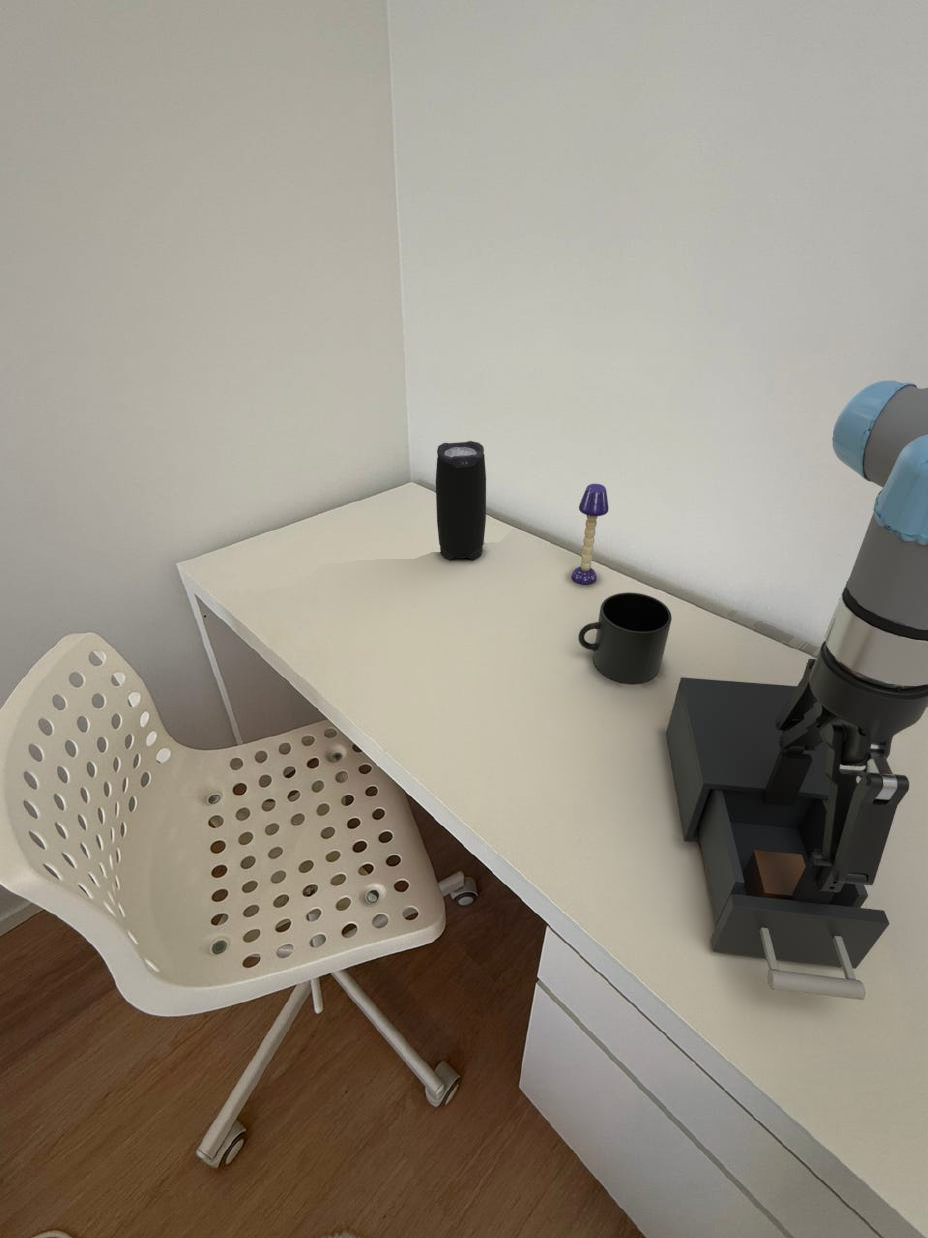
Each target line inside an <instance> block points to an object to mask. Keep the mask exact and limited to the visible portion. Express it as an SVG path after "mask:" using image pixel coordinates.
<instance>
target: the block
mask: <svg viewBox="0 0 928 1238" xmlns="http://www.w3.org/2000/svg"><path fill="white" fill-rule="evenodd" d="M805 867H806V865H805V862H804V859H803V856H802V855H800V854H790V853H780V852H770V851H760V850H753V853H752V855H751V857H750V859H749V861H748V864H747V866H746V868H745V870H744V873H743V878H744V882H745V883H744V886H745V890H746V894H747V896H755V897H764V898H774V899H783V900H792V901H794V898H793V895H792V893H793V891H794V889H795V887H796V885H797V883H798V881H799V879H800V877H801V875H802V873H803V871H804V869H805Z"/></svg>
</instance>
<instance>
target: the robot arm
mask: <svg viewBox="0 0 928 1238" xmlns="http://www.w3.org/2000/svg"><path fill="white" fill-rule="evenodd" d="M833 426H834V427H833V431H832V449H833V452H834V454H835V455H836V458H838V460H839V461H841V462H842V463H843V464H844V465H846V466H847V467H848V468H849V469H851V470H852V471H854V472H855V473H857V474H858V475H860V476H861V477H862V479H864V480H866V481H867V482H871V483H874V484H875V485H877V486H879V487H881V488H882V489H881V490H880V491H879V492H878V494H877V496H876V498H875V499H874V500H875V501H874V503H873V509H872V511H873V513H872V515H871V518H870V521H869V524H868V525H867V526H868V527H867V529H866V532H865V533H864V537H863V540H862V542H861V545H860V547H859V551H858V553H857V555H856V559H855V562H854V564H853V566H852V570H851V572H850V575H849V577H848V579H847V581H846V583H845V586H844V588H843V590H842V592H841V593H840V596H839V598H838V601H837V604H836V605H835V609H834V611H833V614H832V616H831V619H830V622H829V624H828V627H827V629H826V632H825V634H824V641H823V642H822V643H821V645H820V648H819V651H818V653H817V656H816V658H809V659H808V660H807V662H806V666H805V669H804V672H803V676H802V677H801V679H800V681H799V682H798V684H797V685H796V686H797V687H796V689H795V690H794V692H793V693H792V695H791V697H790V698H789V700H788V701H787V703H786V704H785V706H784V708H783V709H782V711H781V712H780V714H779V715H778V717H777V719H776V722H775V725H776V729H777V730H782V734H783V735H782V736H780V738H779V746H780V748H781V750H780V752H779V755H778V757H777V760H776V762H775V765H774V768H773V770H772V773H771V775H770V778H769V780H768V783H767V785H766V788H765V791H764V793H763V796H762V800H763V803H764V804H773V805H785V806H793V804H794V802H795V800H796V797H797V795H798V793H799V791H800V788H801V786H802V784H803V782H804V779H805V777H806V775H807V772H808V770H809V768H810V766H811V763H812V761H813V760H812V757H811V755H810V754H803V752H804V751H818V750H816V748H817V749H818V747H817V746H818V745H820V744H822V743H823V742H824V743H825V744H826V746H827V757H826V765H825V774H826V776H827V777H829V778H830V789H829V797H828V806H827V814H826V822H825V831H824V839H823V847H822V849H819V848H815V849H814V851H813V853H812V855H811V857H810V859H809V861H808V863H807V865H806V867H805V869H804V871H803V873H802V875H801V877H800V879H799V881H798V883H797V885H796V887H795V889H794V891H793V893H792V895H793V898H794V901H801V902H810V903H820V904H829V903H830V901H831V899H832V898H833V896H834V894H835V892H839V891H840V890H841V889H842V887H843V885H844V883H850V884H861V885H864V886H873V885H874V883H875V880H876V876H877V874H878V870H879V867H880V864H881V861H882V857H883V854H884V850H885V847H886V844H887V841H888V838H889V835H890V832H891V828H892V825H893V822H894V820H895V819H894V818H895V816H896V812H897V809H898V806H899V804H900V803H901V802H902V800H904V797H905V796H906V795H907V793H908V792H909V790H910V780H909V778H908V776H906V775H905V774H896V773H895V774H894V773H893V771H892V768H891V766H890V765H889V762H888V758H889V757H890V754H891V748H892V742H893V739H894V736H896V735H897V734H899V733H901V732H903V731H904V730H906V729H908V728H910V727H912V726H913V725H915V724H916V723H918V721H919V720H920V719H921V718H922V717H923V715H924V713H925V711H926V709H927V707H928V387H926V388H925V387H924V388H919V387H917V385H916V384H915V383H912V382H900V381H897V380H880V381H877V382H874V383H872V384H869V385H868V386H866V387H864V388H863V389H861V390H860V391H858V392H857V393H856V394H855V395H854V396H852V397H851V399H849V400H848V401H847V403H846V404H845V405H844V407H843V408H842V410H841V411H840V413H839V415H838V416H837V418H836V421H835V423H834V425H833ZM841 766H844V767H855V768H856V767H858V768H860V767H864V768H863V769H860V770H859V769H848V768H847V769H846V768H841Z"/></svg>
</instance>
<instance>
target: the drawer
mask: <svg viewBox="0 0 928 1238" xmlns="http://www.w3.org/2000/svg"><path fill="white" fill-rule="evenodd" d="M762 796H763V793H752V792H741V791H731V790H720V789H710V790H709V793H708V796H707V799H706V802H705V804H704V807H703V810H702V813H701V816H700V819H699V822H698V825H697V827H698V832H699V837H700V842H699V843H700V847H701V853H702V858H703V862H704V868H705V874H706V878H707V883H708V889H709V895H710V900H711V904H712V905H711V906H712V910H713V915H714V920H715V925H716V926H715V929H714V930H713V933H712V935H711V938H710V944H711V950H712V952H713V953H718V954H726V955H736V956H743V957H751V958H752V957H753V958H759V959H760V958H761V959H766V963H767V967H768V970H767V973H766V979H767V985H768V988H769V989H770V990H776V991H782V992H783V991H784V992H791V993H792V992H793V993H801V994H809V995H817V996H825V997H833V998H841V999H842V998H843V999H849V1000H850V999H851V1000H856V1001H857V1000H858V1001H864V1000H865V998H866V989H865V985H864V983H863V981H861V979H860V980H859V979H857V976H856V974H855V971H854V970H856V969H857V968H858V967H859V965H860V964H861V963H862V962H863V960H864V959H865V957H866V956H867V955H868V953H869V952H870V951H871V949H872V948H873V947H874V946H875V944H876V943H877V942H878V940H879V939H880V938H881V936H882V935H883V933H884V932H885V931H886V930H887V928H888V927H889V926H890V921H889V919H888V916H887V914H886V911H885V910H882V909H874V908H866V907H865V908H864V907H862V906H863V905H864V903H865V902H866V900H867V899H868V897H869V894H868V890H867V888H866V885H861V884H850V883H844V885H843V887H842V889H841V890H840V891H839V892H835V894H834V896H833V898H832V899H831V901H830V903H829V904H820V903H810V902H801V901H792V900H783V899H774V898H764V897H755V896H747V894H746V890H745V886H744V883H745V882H744V878H743V873H744V870H745V868H746V866H747V864H748V861H749V859H750V857H751V855H752V853H753V850H760V851H770V852H780V853H790V854H800V855H802V856H803V859H804V862H805V865H807V863H808V861H809V859H810V857H811V855H812V853H813V851H814V849H815V848H819V849H822V847H823V839H824V831H825V822H826V814H827V806H828V800H827V799H817V798H806V797H796V800H795V802H794V804H793V806H785V805H773V804H764V803H763V800H762ZM778 961H784V962H785V961H786V962H794V963H802V964H803V963H804V964H809V965H811V964H812V965H818V966H819V965H820V966H827V967H828V966H829V967H835V968H836V967H837V968H841V970H842V972H843V975H844V977H837V976H829V975H828V976H827V975H819V974H811V973H803V972H794V971H785V970H780V969H779V966H778Z"/></svg>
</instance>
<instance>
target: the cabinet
mask: <svg viewBox="0 0 928 1238" xmlns="http://www.w3.org/2000/svg"><path fill="white" fill-rule="evenodd" d="M797 686H798V685H787V684H772V683H761V682H747V681H737V680H736V681H734V680H724V679H723V680H721V679H709V678H695V677H683V676H682V677H680V679H679V682H678V686H677V690H676V694H675V698H674V702H673V706H672V709H671V713H670V717H669V721H668V723H667V724H668V725H667V728H666V732H665V736H666V742H667V748H668V754H669V759H670V766H671V772H672V777H673V783H674V790H675V794H676V795H675V796H676V801H677V806H678V812H679V819H680V824H681V831H682V836H683V841H685V842H692V843H700V837H699V832H698V827H697V825H698V822H699V819H700V816H701V813H702V810H703V807H704V804H705V802H706V799H707V796H708V793H709V790H710V789H720V790H731V791H741V792H752V793H764V791H765V788H766V785H767V783H768V780H769V778H770V775H771V773H772V770H773V768H774V765H775V762H776V760H777V757H778V755H779V752H780V750H781V748H780V746H779V738H780V736H782V735H783V734H782V730H777V729H776V725H775V722H776V719H777V717H778V715H779V714H780V712H781V711H782V709H783V708H784V706H785V704H786V703H787V701H788V700H789V698H790V697H791V695H792V693H793V692H794V690H795V689H796V687H797ZM817 747H818V749H817V748H816V750H818V751H804V752H803V754H810V755H811V757H812V760H813V761H812V763H811V766H810V768H809V770H808V772H807V775H806V777H805V779H804V782H803V784H802V786H801V788H800V791H799V793H798V795H797V797H806V798H817V799H827V800H828V797H829V789H830V778H829V777H827V776H826V774H825V765H826V757H827V746H826V744H825V743H824V742H823V743H822V744H820V745H818V746H817Z"/></svg>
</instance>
